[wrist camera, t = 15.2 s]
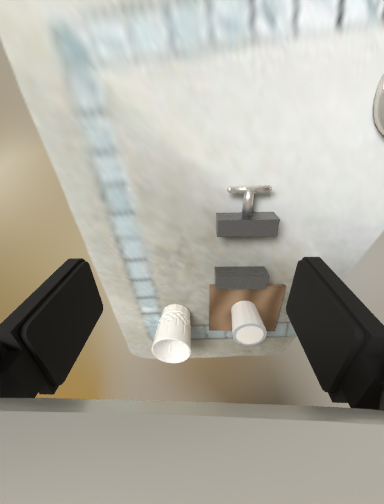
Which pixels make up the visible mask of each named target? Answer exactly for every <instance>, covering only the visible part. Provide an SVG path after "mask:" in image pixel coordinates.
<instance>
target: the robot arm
mask: <svg viewBox="0 0 384 504" xmlns="http://www.w3.org/2000/svg"><path fill="white" fill-rule="evenodd" d="M374 119H375V123H376V126H377V128H378V130H379V131H380V132H381V133H382V135H383V136H384V75H383V77H382V79H381V81H380V84H379V86H378V89H377V92H376V96H375V101H374ZM102 311H103V304H102V301H101V298H100V295H99V292H98V289H97V286H96V283H95V280H94V277H93V274H92V271H91V269H90V265H89V263H88V262H86V261H85V260H84V259H68V260H67V261H66V262H65V263H64V264H63V265H62V266H61V267H59V268H58V269H57V270H56V271H55V272H54V273H53V274H52V275H51V276H50V277H49V278H48V279H47V280H46V281H45V282H44V283H43V284H42V285H41V286H40V287H39V288H38V289H37V290H35V292H33V293H32V294H31V295H30V296H29V297H28V298H27V299H26V300H25V301H24V302H23V303H22V304H21V305H20V306H19V307H18V308H17V309H16V310H15V311H14V312H13V313H12V314H10V315H9V316H8V317H7V318H6V319H5V320H4V322H2V323H1V324H0V504H384V325H383V324H382V323H381V322H380V321H379V320H378V319H377V318H376V317H375V316H374V315H373V314H372V313H371V312H370V311H369V309H368V308H367V307H366V306H365V305H364V304H363V303H362V302H361V301H360V300H359V299H358V298H357V297H356V295H355V294H354V293H353V292H352V291H351V290H350V289H349V288H348V287H347V286H346V285H345V284H344V283H343V282H342V280H341V279H340V278H339V277H338V276H337V275H336V274H335V273H334V272H333V271H332V270H331V269H330V268H329V267H328V266H327V264H326V263H325V262H324V261H323V260H322V259H321V258H320V257H304V258H303V259H302V260H300V261H299V262H298V264H297V267H296V271H295V275H294V279H293V283H292V286H291V290H290V294H289V298H288V301H287V305H286V311H287V315H288V317H289V319H290V321H291V323H292V325H293V328H294V330H295V332H296V334H297V336H298V338H299V340H300V343H301V345H302V347H303V349H304V351H305V353H306V355H307V358H308V360H309V362H310V364H311V366H312V368H313V371H314V373H315V375H316V377H317V379H318V381H319V383H320V385H321V387H322V389H323V390H324V391H325V392H328V393H329V396H330V398H331V400H332V402H337V403H349V405H350V407H351V408H338V407H318V406H295V405H266V404H236V403H235V404H234V403H206V402H205V403H204V402H171V401H138V400H136V401H135V400H98V399H56V398H35V396H36V395H37V393H38V392H39V394H54V393H55V391H56V390H57V388H58V386H59V385H61V384H62V383H63V382H64V381H65V379H66V378H67V376H68V374H69V372H70V370H71V368H72V366H73V365H74V363H75V361H76V359H77V357H78V356H79V354H80V352H81V350H82V348H83V347H84V345H85V343H86V341H87V339H88V337H89V336H90V334H91V332H92V330H93V328H94V327H95V324H96V323H97V321H98V319H99V317H100V316H101V314H102Z"/></svg>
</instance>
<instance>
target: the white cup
mask: <svg viewBox="0 0 384 504" xmlns="http://www.w3.org/2000/svg"><path fill="white" fill-rule="evenodd" d="M152 353H153V355H154V356H155V357H156V358H157V359H159V360H161V361H163V362H168V363H179V362H183V361H185V360H186V359H188V358H189V356H190V354H191V323H190V312H189V310H188V309H187V308H186V307H184V306H183V305H179V304H172V305H169V306H167V307H165V308H164V310H163V312H162V315H161V318H160V321H159V325H158V328H157V331H156V334H155V338H154V342H153V345H152Z"/></svg>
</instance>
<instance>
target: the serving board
mask: <svg viewBox="0 0 384 504" xmlns="http://www.w3.org/2000/svg"><path fill="white" fill-rule="evenodd" d="M285 287H286V286H285V285H267V289H216V288H215V285H210V315H209V330H223V331H232V313H231V309H232V306H233V305H234V304H235V303H237V302H239V301H250V302H252V303H254V305H255V306H256V308H257V310H258V313H259V315H260V317H261V319H262V322H263V324H264V326H265V328H266V331H275V328H276V324H277V320H278V316H279V312H280V308H281V304H282V300H283V296H284V292H285Z"/></svg>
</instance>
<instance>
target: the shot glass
mask: <svg viewBox="0 0 384 504" xmlns="http://www.w3.org/2000/svg"><path fill="white" fill-rule="evenodd" d="M231 313H232V335H233V339H234V340H235V341H236V342H237V343H239V344H241V345H246V346H250V345H256V344H259V343H261V342H262V341H263V340H264V339H265V338H266V336H267V331H266V328H265V326H264V324H263V322H262V319H261V317H260V315H259V313H258V310H257V308H256V306H255V305H254V303H252V302H250V301H239V302H237V303H235V304H234V305H233V306H232V309H231Z"/></svg>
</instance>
